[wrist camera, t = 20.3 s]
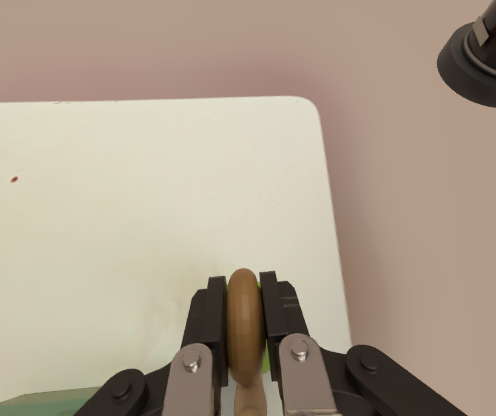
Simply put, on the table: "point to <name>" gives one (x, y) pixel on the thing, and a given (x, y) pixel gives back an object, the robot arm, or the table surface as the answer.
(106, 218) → the table surface
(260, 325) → the snail figurine
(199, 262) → the table surface
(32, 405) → the green push button box
